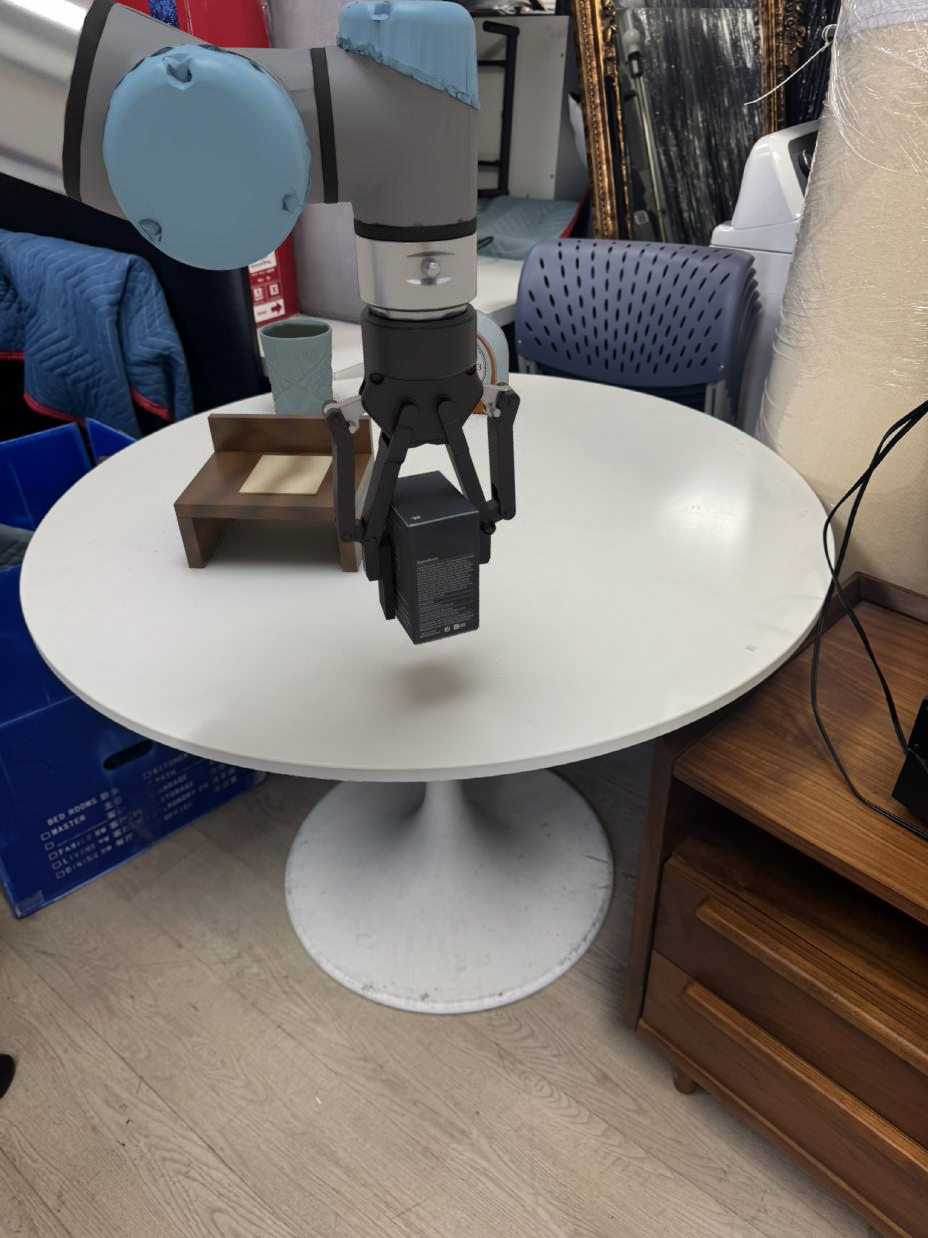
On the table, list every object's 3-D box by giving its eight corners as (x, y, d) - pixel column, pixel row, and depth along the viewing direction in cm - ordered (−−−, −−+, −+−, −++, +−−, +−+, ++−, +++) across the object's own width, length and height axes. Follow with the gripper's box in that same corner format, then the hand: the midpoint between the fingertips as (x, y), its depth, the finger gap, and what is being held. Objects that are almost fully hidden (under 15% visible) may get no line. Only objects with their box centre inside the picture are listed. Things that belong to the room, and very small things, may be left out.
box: (481, 630, 64) (481, 509, 58) (413, 648, 62) (406, 526, 56) (443, 580, 70) (439, 466, 64) (380, 596, 68) (370, 480, 62)
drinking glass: (259, 409, 123) (245, 328, 116) (315, 392, 128) (305, 313, 121) (296, 428, 116) (284, 343, 109) (353, 409, 122) (345, 327, 115)
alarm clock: (399, 407, 122) (393, 313, 115) (417, 387, 129) (413, 298, 121) (494, 415, 119) (495, 320, 111) (508, 395, 125) (510, 304, 118)
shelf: (188, 567, 86) (163, 467, 79) (229, 505, 97) (210, 413, 91) (357, 571, 85) (346, 469, 78) (379, 508, 96) (370, 414, 89)
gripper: (272, 332, 47) (315, 650, 60) (580, 307, 51) (557, 610, 65) (262, 300, 53) (304, 596, 66) (538, 280, 57) (525, 562, 70)
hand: (428, 603), depth 65 cm, fingers closed on box, 6 cm apart
